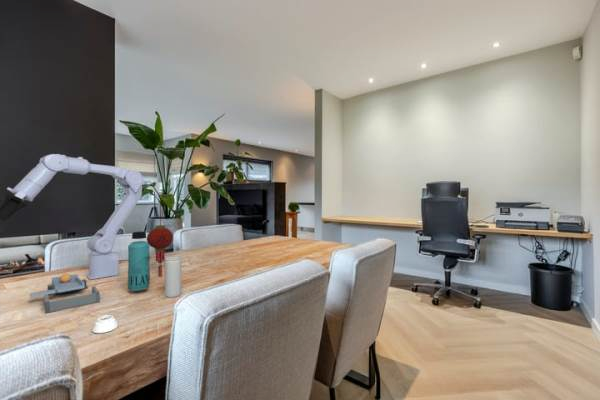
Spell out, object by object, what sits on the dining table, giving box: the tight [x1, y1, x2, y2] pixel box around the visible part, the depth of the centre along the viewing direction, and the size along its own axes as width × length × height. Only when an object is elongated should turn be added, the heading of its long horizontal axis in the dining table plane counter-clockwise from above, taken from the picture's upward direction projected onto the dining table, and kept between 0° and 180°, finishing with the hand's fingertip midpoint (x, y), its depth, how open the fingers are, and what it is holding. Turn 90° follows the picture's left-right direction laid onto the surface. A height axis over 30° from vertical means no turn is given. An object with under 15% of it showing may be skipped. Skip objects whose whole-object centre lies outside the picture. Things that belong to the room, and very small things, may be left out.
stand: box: [47, 278, 89, 297], centre depth 93 cm, size 10×4×3 cm, turn 134°
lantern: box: [146, 200, 174, 278], centre depth 110 cm, size 10×10×30 cm
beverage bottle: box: [127, 231, 151, 292], centre depth 93 cm, size 6×7×20 cm
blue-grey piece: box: [29, 273, 84, 298], centre depth 91 cm, size 13×18×3 cm
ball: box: [59, 273, 72, 282], centre depth 98 cm, size 3×3×3 cm
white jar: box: [91, 314, 119, 334], centre depth 67 cm, size 5×3×5 cm
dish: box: [43, 285, 101, 314], centre depth 83 cm, size 12×9×3 cm
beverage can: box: [164, 256, 182, 299], centre depth 90 cm, size 5×5×12 cm
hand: (0, 218), depth 88 cm, fingers open, 7 cm apart
